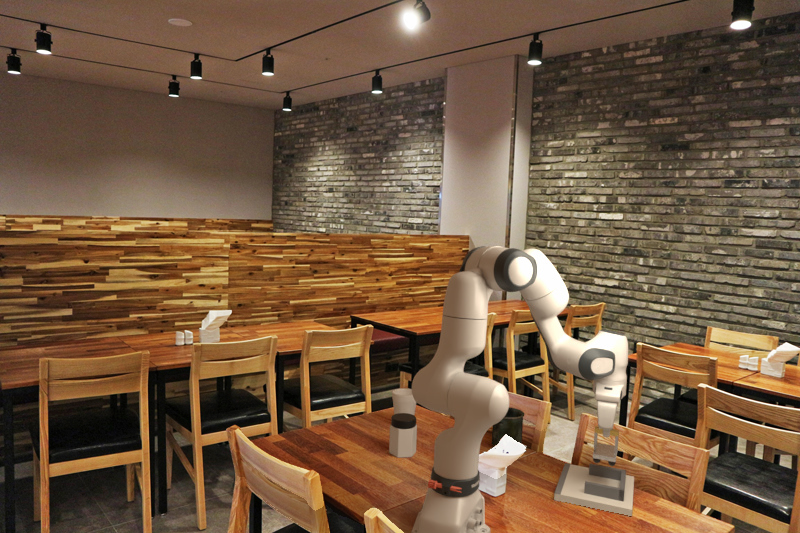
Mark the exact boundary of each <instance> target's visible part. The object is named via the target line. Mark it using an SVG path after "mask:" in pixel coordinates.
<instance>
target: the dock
mask: <svg viewBox="0 0 800 533" xmlns="http://www.w3.org/2000/svg"><path fill="white" fill-rule="evenodd" d="M634 485H635V476H633V475H628V474H627V470H626V469H622V468H618V467H617V468H616V467H613V466H605V465H601V464H597V463H595V464H594V463H589V467H587V466H583V465H582V466H581V465H576V464H571V463H568V462H565V463H564V465H563V468H562V471H561V473H560V476H559V479H558V482H557V485H556V487H555V489H554V490H555V491H554V494H553V497H554V498H553V500H554V501H556V502H560V501H561V503H565V502H567V503H566V504H569V503H571V504H570V505H574V504H576V505H575V506H578V505H581V506H580V507H583V506H586V507H585V508H588V507H590V508H589V509H592V508H595V509H594V510H597V509H600V510H599V511H601V510H604V511H603V512H606V511H609V512H608V513H610V512H614V513H613V514H615V513H619V514H624V515H628V516H627V517H629V516H632V517H633V506H634V505H633V504H634V489H635V486H634ZM619 514H618V515H619ZM624 515H623V516H624Z"/></svg>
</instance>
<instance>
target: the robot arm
mask: <svg viewBox="0 0 800 533" xmlns="http://www.w3.org/2000/svg"><path fill="white" fill-rule="evenodd" d="M446 286H447V287H446V290H445V295H444V301H443V307H442V315H441V316H442V318H441V328H440V329H441V330H440V334H439V335H440V337H439V343H438V346H437V349H436V352H435V354H434V356H433V358H432V359H431V360H430V362H429V363H427V365H425V366H424V367H422V368H420V369H419V371H418V372H416V374H415V375H414V377H413V380H412V382H411V389H412V395H413V398H414V400H415V401H416V404H417V405H418V404H419V405H421V407H424V408H426V409H428V410H430V411H432V412H436V413H439V414H444V415H447V416H450V417H451V416H452V417H453V418H454V425H453V427H449V428H447V429H444V430H443V431H441V432H439V434H438V435H437V436H436V438H435V440H434V450H433V451H434V453H433V454H434V455H433V466H432V468H431V472H430V478H429V480H428V483H427V491H426V494H425V498H424V501H423V504H422V506H421V510H420V511H419V512H417V515H416V519H415V522H414V525H413V527H412V530H411V532H410V533H491V528H490V527H489V526H488V525H487V524H486V522H485V521H486V520H485V518H486V516H485V513H486V512H485V511H486V510H485V507H486V506H485V497H484V495H483V494H482V493H481V491H480V489H479V487H480V482H481V476H480V470H479V461H480V460H479V459H480V451H481V446H482V445H481V443H482V440H483V437H484V436H485V434H486V432H487V431H488V430H489V429H490V428H491V427H492V426H493V425H495V424H497V423H498V422H500V421H501V420H502V419H503V418H504V417H505V415H506V413H507V411H508V408H509V407H510V395H509V392H508V390H507V388H506V386H505V385H504V384H503V383H500V382H498V381H497V380H494V379H492V378H489V377H487V376H481V375H477V374H474V373H467V372H465V371H464V370H465V369H464V368H465V364H466V362H467V361H468V360H470V359H473V358H475V357H477V356H479V355H480V354H481V353H482V352H483V351H484V349H485V348H486V342H487V328H488V318H489V314H488V313H489V301H490V298H491V295H492V294H493V293H494V291H495V292H507V293H515V292H517V293H518V292H519V293H520V294H521V296H522V299H524V301H525V303H526V304H527V306H528V308H529V309H528V310H529V313H530V315H531V318H532V320H533V322H534V324H535V326H536V328H537V331H538V332H539V334H540V336H541V339H542V340H543V342H544V347H545V349H546V355H547V360H548V362H549V364H550V365H551V366H552V367H553V368H554V369H555V370H558V371H562V372H565V373H568V374H571V375H573V376H575V377H579V378H580V379H583V380H586V381H592V392H593V394H594V400H596V411H597V412H596V414H597V415H596V416H597V427H599V428H600V429H603V434H602V436H603V437H604V438H610V436H611V435H610V430H612V429H614V426H615V425H614V424H615V420H616V414H617V409H618V406H619V404H620V403H621V400H622V399H623V398H624V397H625V396H626V395H627V385H628V384H627V383H628V382H627V380H628V374H627V366H628V365H629V341H628V338H627V336H626V335H625V334H623V333H622V332H618V331H614V330H610V329H599V330H598V333H597V334H596V335H594V337H592V339H590V340H587V341H585V342H584V341H582V340H579V339H576V338H573V337H572V336H570V335H568V334H567V333H566V332H565V331H564V328H563V327H562V324H561V323H560V320H559V318H558V315H560V314H561V313H562V312H563V311H564V310H565V309H566V308H567V306H568V303H569V301H570V294H569V291H568V288H567V286H566V283H565V282H564V280H563V279H562V277H561V275H560V273H559V272H558V271H557V269H556V268H555V266H554V264H553V263H552V262H551V260H550V259H549V258H548V256H546V255H545V253H543V252H542V251H541V250H539V249H537V248H525V249H523V250H521V249H519V248H516V247H515V248H514V247H513V248H510V247H505V246H500V245H489V246H485V245H484V246H483V245H482V246H477V247H475V248H472V249H470V250H469V251H468V252H467V253H466V255H465V256H464V258H463V260H462V263H461V267H459V271H458V272H456V273H454V274H453V275H452V276H450V278H449V280H448V283H447V285H446Z"/></svg>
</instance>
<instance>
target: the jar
mask: <svg viewBox="0 0 800 533" xmlns="http://www.w3.org/2000/svg"><path fill="white" fill-rule="evenodd" d="M390 419H391V420H390V421H391V423H390V425H389V440H388V442H389V443H388V444H389V446H388V447H389V448H388V450H389V451H388V453H389V454H390V455H392V456H395V457H396V458H398V459H399V458H412V457H413V456H414V455H415V454H416V453H417V441H418V440H417V435H418V424H417V417H416V416H415V414H414V415H412V414H408V413H398V414H394V413H393V414H392V415H391V418H390Z"/></svg>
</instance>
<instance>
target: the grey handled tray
mask: <svg viewBox="0 0 800 533" xmlns="http://www.w3.org/2000/svg"><path fill="white" fill-rule="evenodd" d="M599 434H601V435H603V429H600V428H599V427H598V425H595V426H594V436H593V437H594V438H593V452H592V460H593V461H592V462H594V463H595V464H599V463H600V462H601V460H602V461H607V462H608V465H609V467H614V466H615V465H616V464H617V456H618V452H619V451H618V450H619V449H618V448H619V434H620V430H619V429H615V428H613V429H612V430H610V436H612V437H615V438H614V439H615V440H614V445H612V444H606V443H600V442H598V435H599Z"/></svg>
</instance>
